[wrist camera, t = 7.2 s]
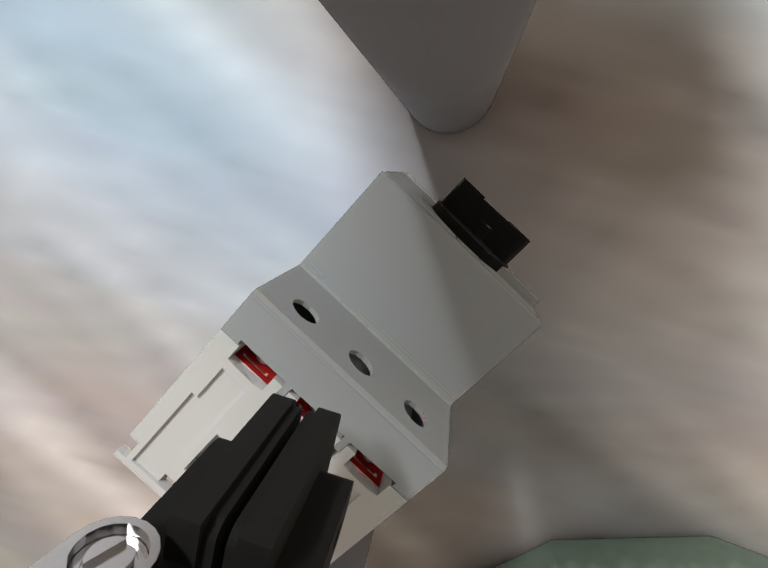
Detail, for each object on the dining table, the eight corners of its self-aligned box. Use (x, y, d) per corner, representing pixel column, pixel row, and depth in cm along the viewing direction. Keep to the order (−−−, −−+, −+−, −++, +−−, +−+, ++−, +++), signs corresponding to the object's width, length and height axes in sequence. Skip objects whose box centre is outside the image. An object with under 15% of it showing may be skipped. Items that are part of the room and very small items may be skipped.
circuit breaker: (531, 242, 26) (620, 328, 11) (365, 398, 30) (275, 608, 15) (435, 150, 25) (402, 116, 11) (281, 320, 29) (109, 459, 15)
